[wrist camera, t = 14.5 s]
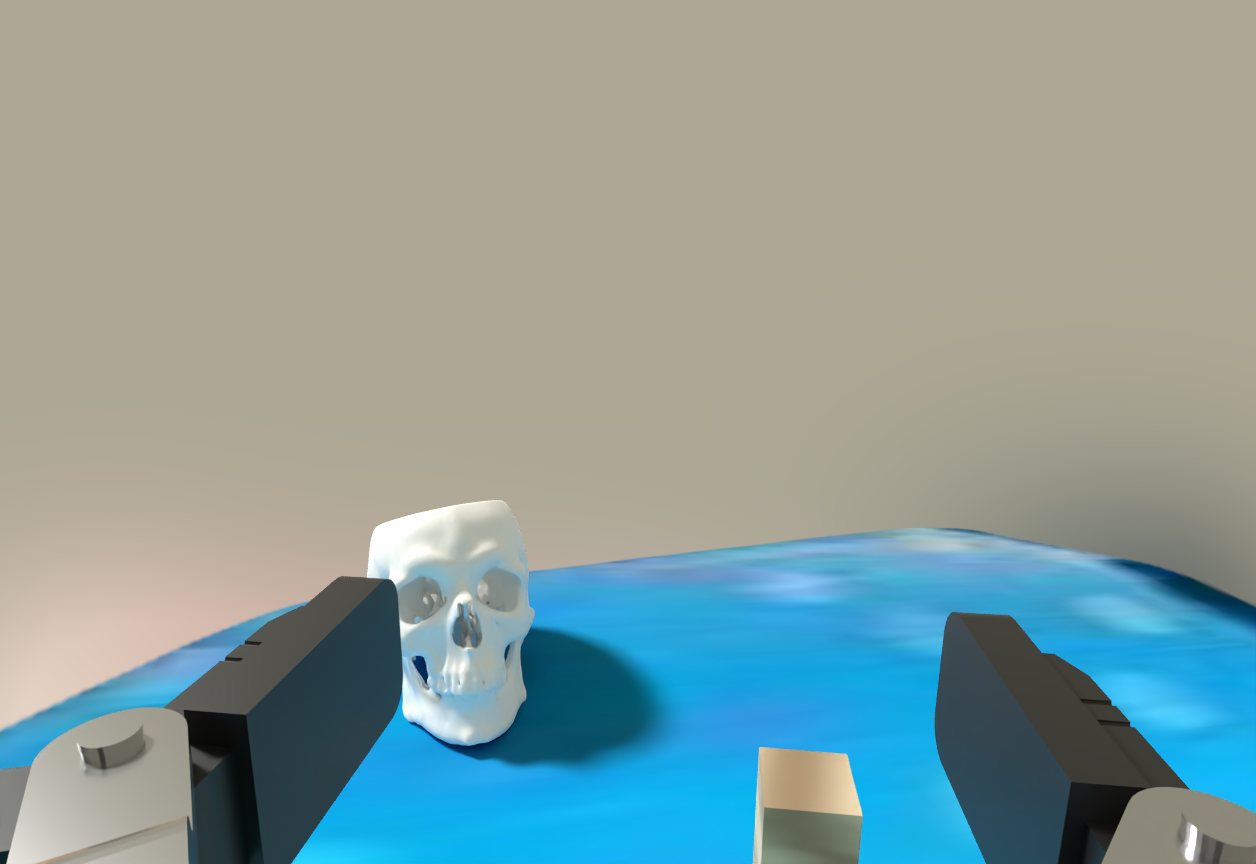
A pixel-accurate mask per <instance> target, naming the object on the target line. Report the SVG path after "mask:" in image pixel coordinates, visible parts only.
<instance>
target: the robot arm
mask: <svg viewBox="0 0 1256 864" xmlns="http://www.w3.org/2000/svg"><path fill="white" fill-rule="evenodd" d="M402 685H403V665H402V650H401V635H400V619H399V604H398V593H397V589H396V586H395V584H394V582H393V581H392V580H390V579H381V578H364V577H346V576H345V577H344V576H342V577H339V578H337V579H336V580H334V581H333V582H332V583H331V584H330V585H329V586H327V587H326V588H325V589H324V590H323V591H322V592H320V593H319V594H318V595H317V596H316V597H315V598H313V599H312V600H311V601H310V602H309V603H308V604H306V605H305V606H301V607H299V608H297V609H294V610H292V611H290V612H288V613H286V614H284V615H282V616H280V617H277V618H275V619H273V620H271V621H269V622H267V623H266V624H265V625H264V626H263V627H261V628H260V629H259V630H258V631H256V632H255V633H254V634H253V635H252V636H250V637H249V638H248V639H247V640H245V644H244V645H239V646H238V647H237V648H236V649H235V650H233V651H232V652H231V653H230V654H228V655H227V656H226V658H225V661H220V662H219V663H217V664H216V665H215V666H214V667H213V668H211V669H210V670H209V671H208V672H207V673H205V674H204V675H203V676H202V677H200V678H199V679H198V680H197V681H196V682H194V683H193V684H192V685H191V686H189V687H188V688H187V689H186V690H185V691H183V692H182V693H181V694H180V695H178V696H177V697H176V698H175V699H174V700H172V701H171V702H170V703H169V704H168V705H166V706H165V707H164V708H153V707H150V708H136V709H129V710H124V711H119V712H115V713H111V714H108V715H104V716H101V717H98V718H96V719H93V720H90V721H88V722H86V723H83V724H81V725H79V726H77V727H75V728H73V729H71V730H69V731H67V732H65V733H64V734H62V735H61V736H59V737H57V738H56V739H55V740H53V741H52V742H51V743H49V744H48V745H47V746H46V747H45V748H44V749H43V750H42V751H41V752H40V753H39V754H38V755H37V757H36V758H35V759H34V761H33V764H32V766H25V767H17V768H9V769H1V770H0V864H291V863H292V862H293V860H294V859H295V857H296V856H297V854H298V853H299V852H300V850H301V849H302V847H303V846H304V844H305V843H306V842H307V840H308V839H309V837H310V836H311V834H312V833H313V831H314V830H315V829H316V827H317V826H318V824H319V823H320V821H321V820H322V819H323V817H324V816H325V814H326V813H327V811H328V810H329V809H330V807H331V806H332V804H333V803H334V801H335V800H336V798H337V797H338V796H339V794H340V793H341V791H342V790H343V788H344V787H345V786H346V784H347V783H348V781H349V780H350V778H351V777H352V776H353V774H354V773H355V771H356V770H357V768H358V767H359V765H360V764H361V763H362V761H363V760H364V758H365V757H366V755H367V754H368V753H369V751H370V750H371V748H372V747H373V745H374V744H375V743H376V741H377V740H378V738H379V737H380V735H381V734H382V732H383V731H384V730H385V728H386V727H387V725H388V724H389V722H390V721H391V720H392V718H393V716H394V714H395V712H396V710H397V707H398V704H399V701H400V697H401V692H402ZM935 737H936V744H937V750H938V754H939V757H940V760H941V763H942V765H943V768H944V770H945V772H946V774H947V777H948V779H949V781H950V783H951V786H952V788H953V790H954V792H955V795H956V797H957V799H958V801H959V804H960V806H961V808H962V810H963V813H964V815H965V817H966V819H967V822H968V824H969V826H970V828H971V831H972V833H973V835H974V837H975V840H976V842H977V844H978V846H979V849H980V851H981V853H982V855H983V858H984V860H985V862H986V864H1256V814H1255V813H1253V812H1251V811H1249V810H1247V809H1245V808H1244V807H1241V806H1239V805H1237V804H1234V803H1232V802H1230V801H1227V800H1224V799H1222V798H1219V797H1216V796H1213V795H1210V794H1206V793H1202V792H1199V791H1194V790H1190V789H1189V788H1188V787H1187V786H1186V785H1185V783H1184V782H1183V781H1182V780H1181V779H1180V778H1179V777H1178V776H1177V774H1176V773H1175V772H1174V771H1173V770H1172V769H1171V768H1170V767H1169V765H1168V764H1167V763H1166V762H1165V761H1164V760H1163V759H1162V758H1161V756H1160V755H1159V754H1158V753H1157V752H1156V751H1155V750H1154V748H1153V747H1152V746H1151V745H1150V744H1149V743H1148V742H1147V741H1146V739H1145V738H1144V737H1143V736H1142V735H1141V734H1140V733H1139V732H1138V730H1137V729H1136V728H1134V727H1130V721H1129V720H1128V719H1127V718H1126V717H1125V716H1124V715H1123V714H1122V712H1121V711H1120V710H1119V709H1118V708H1117V707H1116V706H1112V704H1111V700H1110V699H1109V698H1108V697H1107V695H1106V694H1105V693H1104V692H1103V691H1102V690H1101V689H1100V688H1099V686H1098V685H1097V684H1096V683H1095V682H1094V681H1093V680H1092V679H1091V677H1090V676H1088V675H1087V674H1085V673H1084V672H1082V671H1080V670H1079V669H1077V668H1076V667H1074V666H1073V665H1071V664H1069V663H1068V662H1066V661H1065V660H1063V659H1061V658H1060V657H1058V656H1057V655H1055V654H1047V653H1041V652H1040V650H1039V649H1038V648H1037V647H1036V645H1035V644H1034V643H1033V642H1032V641H1031V639H1030V638H1029V637H1028V636H1027V634H1026V633H1025V632H1024V631H1023V630H1022V628H1021V627H1020V626H1019V625H1018V623H1017V622H1016V621H1015V620H1014V619H1013V618H1012V617H1011V616H1009V615H994V614H976V613H959V612H952V613H951V614H950V615H949V616H948V618H947V621H946V625H945V630H944V638H943V647H942V656H941V665H940V673H939V682H938V691H937V700H936V708H935Z"/></svg>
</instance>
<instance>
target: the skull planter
mask: <svg viewBox="0 0 1256 864" xmlns="http://www.w3.org/2000/svg"><path fill="white" fill-rule="evenodd" d="M528 577H529V567H528V560H527V555H526V550H525V547H524V543H523V537H522V534H521V530H520V528H519V525H518V523H517V520H516V518H515V516H514V514H513V512H512V510H511V509H510V508H509V506H508V505H507V504H506V503H505V502H504V501H501V500H497V501H496V500H494V501H482V502H474V503H467V504H460V505H454V506H449V507H444V508H440V509H435V510H430V511H426V512H421V513H417V514H413V515H409V516H406V517H402V518H399V519H396V520H392V521H389V522H386V523H383V524H381V525H379V526H378V527H376V528H375V530H374V532H373V535H372V538H371V543H370V552H369V562H368V572H367V578H381V579H390V580H392V581H393V582H394V584H395V586H396V589H397V593H398V604H399V619H400V635H401V650H402V665H403V685H402V688H403V713H404V716H405V718H406V719H407V720H408V721H409V722H415V723H417V724H419V725H421V726H422V727H423V728H425V729H426V730H427V731H428V732H430V733H431V734H432V735H434V736H435V737H437V738H439V739H441V740H443V741H445V742H447V743H450V744H460V745H467V746H471V745H475V744H478V743H487V742H489V741H491V740H493V739H495V738H497V737H499V736H500V735H502V734H503V733H504V732H506V731H507V730H508V729H509V727H510V726H511V725H512V723H513V722H514V719H515V717H516V714H517V712H518V709H519V707H520V705H521V704H522V703H523V702H524V701H525V700H526V697H527V696H526V689H525V686H524V683H523V678H522V668H521V658H520V651H521V645H522V643H523V640H524V637H526V635H527V633H528V631H529V629H530V626H531V624H532V622H533V620H534V616H535V612H534V609H533V608H530V607H529V598H528ZM508 644H509V645H510V649H509V651H508V654H507V658H506V661H505V658H504V654H505V649H506V647H507V646H508ZM415 656H422V657H424V658H425V661H426V664H427V673H428V675H429V676H428V679H427V684H428V685H427V684H426V683H425V682H424V680H423V678H422V676H421V675H420V674H419V672H418V671H417V669H416V668H415V666H414V664H413V662H412V660H413V661H414V660H416V658H415Z"/></svg>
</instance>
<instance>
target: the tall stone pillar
mask: <svg viewBox="0 0 1256 864" xmlns="http://www.w3.org/2000/svg"><path fill="white" fill-rule="evenodd" d="M862 818H863V815H862V812H861V808H860V804H859V800H858V796H857V792H856V788H855V784H854V780H853V777H852V773H851V769H850V765H849V761H848V757H847V754H839V753H827V752H814V751H802V750H789V749H777V748H764V747H759V762H758V780H757V798H756V816H755V835H754V853H753V864H858V861H859V850H860V839H861V828H862Z"/></svg>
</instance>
